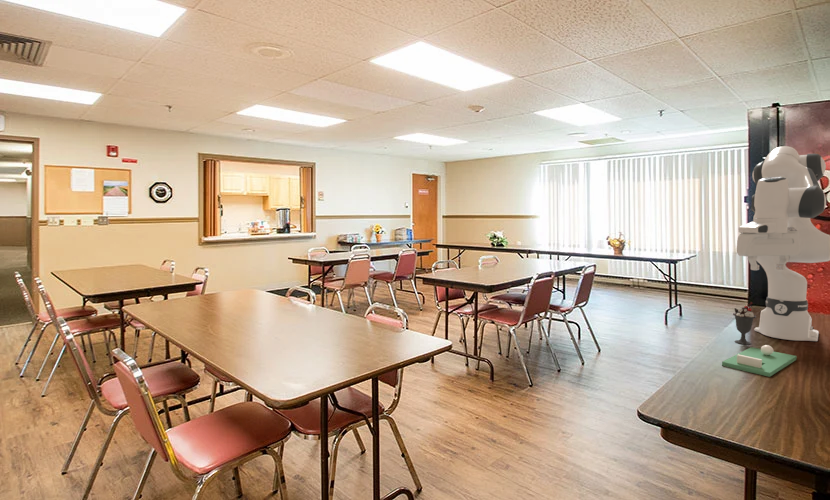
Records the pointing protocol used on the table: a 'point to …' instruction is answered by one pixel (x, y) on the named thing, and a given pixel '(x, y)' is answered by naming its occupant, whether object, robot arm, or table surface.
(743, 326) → the sundae
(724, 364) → the green
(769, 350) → the ball
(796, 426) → the table surface
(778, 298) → the robot arm
